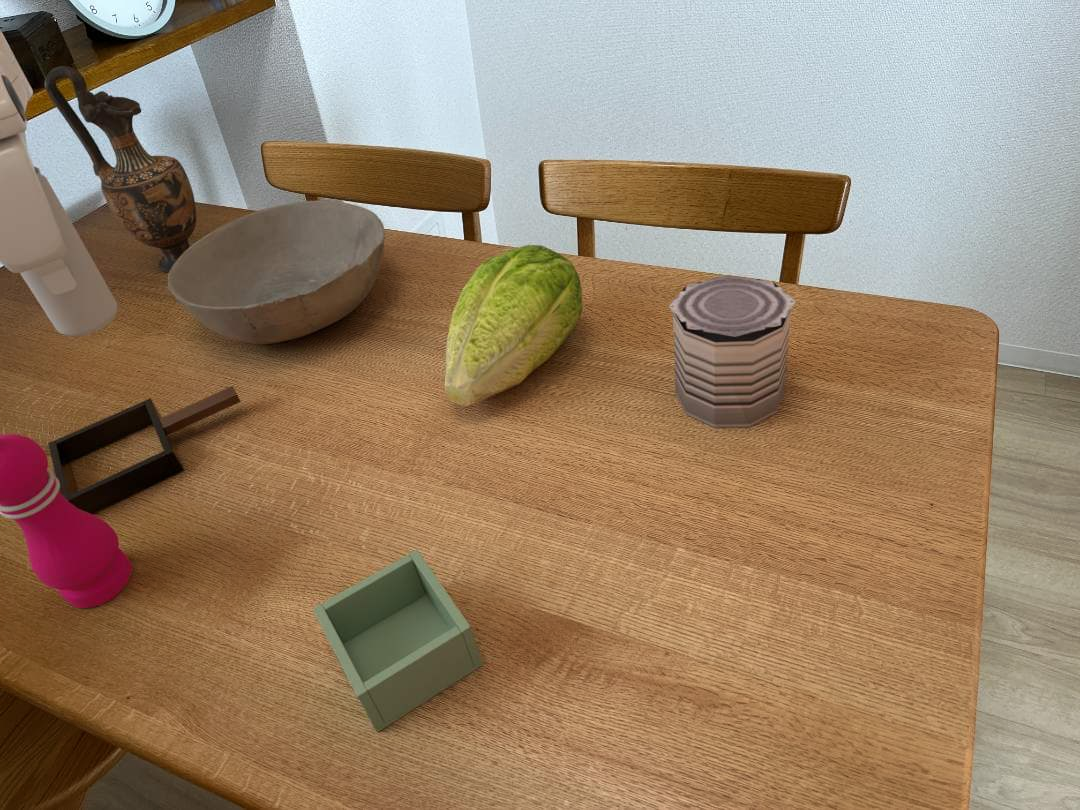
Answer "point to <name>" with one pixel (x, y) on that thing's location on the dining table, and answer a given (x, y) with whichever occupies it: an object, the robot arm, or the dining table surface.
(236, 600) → the dining table surface
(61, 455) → the handled rectangular frame
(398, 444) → the dining table surface
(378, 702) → the bin
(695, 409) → the can
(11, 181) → the robot arm
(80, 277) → the beverage can
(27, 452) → the pepper mill
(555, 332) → the lettuce
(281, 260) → the bowl
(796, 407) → the dining table surface
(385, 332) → the dining table surface
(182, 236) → the vase
